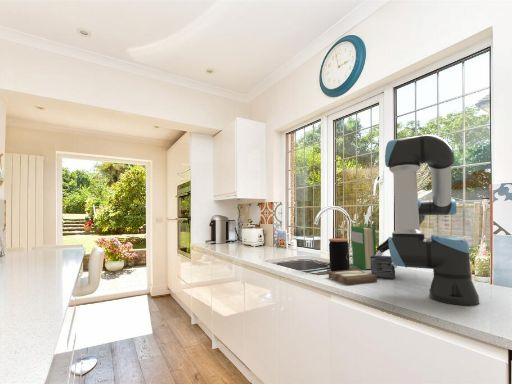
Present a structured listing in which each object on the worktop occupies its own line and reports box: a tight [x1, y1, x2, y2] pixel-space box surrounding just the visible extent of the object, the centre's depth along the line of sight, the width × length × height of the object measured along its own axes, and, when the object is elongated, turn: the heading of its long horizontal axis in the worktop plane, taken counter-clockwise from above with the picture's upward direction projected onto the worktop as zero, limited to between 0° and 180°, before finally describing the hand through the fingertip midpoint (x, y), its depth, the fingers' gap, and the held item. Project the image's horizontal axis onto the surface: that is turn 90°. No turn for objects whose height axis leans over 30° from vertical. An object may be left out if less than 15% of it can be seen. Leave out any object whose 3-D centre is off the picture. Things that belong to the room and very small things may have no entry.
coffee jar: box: [328, 237, 351, 272], centre depth 157 cm, size 11×11×18 cm
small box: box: [370, 255, 396, 280], centre depth 141 cm, size 11×6×10 cm, turn 58°
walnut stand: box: [328, 268, 378, 286], centre depth 137 cm, size 16×16×3 cm
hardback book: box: [350, 225, 377, 272], centre depth 167 cm, size 18×7×24 cm, turn 1°
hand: (383, 263), depth 142 cm, fingers open, 13 cm apart
